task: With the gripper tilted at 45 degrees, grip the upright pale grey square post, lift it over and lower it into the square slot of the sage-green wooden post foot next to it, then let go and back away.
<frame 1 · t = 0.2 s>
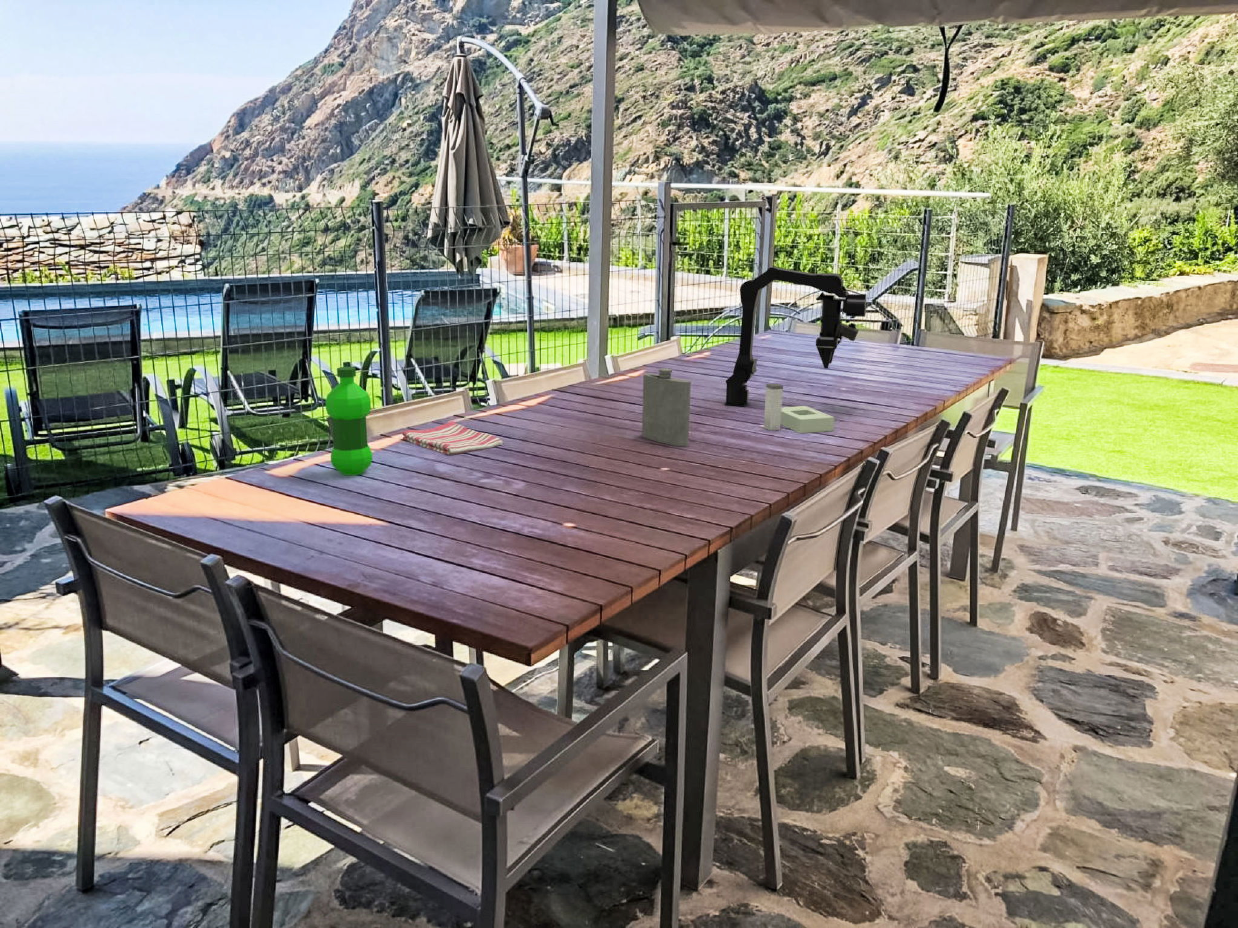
hand: (827, 365, 297), 15 cm above the table, tool pointing down, fingers open, 9 cm apart
hip flask: (663, 441, 261), on the table
dish towel: (451, 444, 256), on the table
plastic bottle: (352, 473, 227), on the table
pale grey square post: (771, 428, 277), on the table
post foot: (802, 425, 281), on the table
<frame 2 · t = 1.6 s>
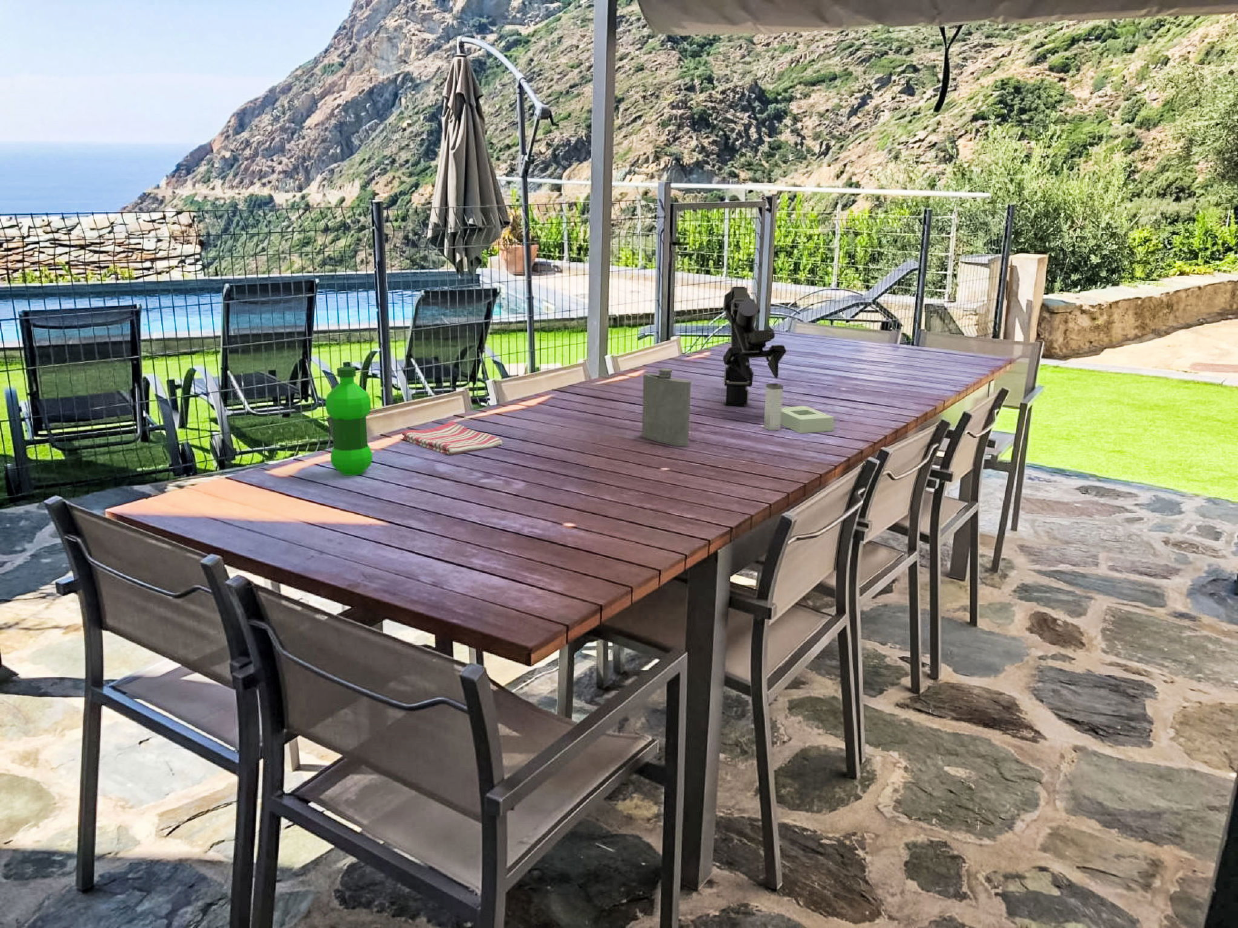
hand: (763, 378, 281), 13 cm above the table, tool tilted 45°, fingers open, 9 cm apart
nothing on the table moved.
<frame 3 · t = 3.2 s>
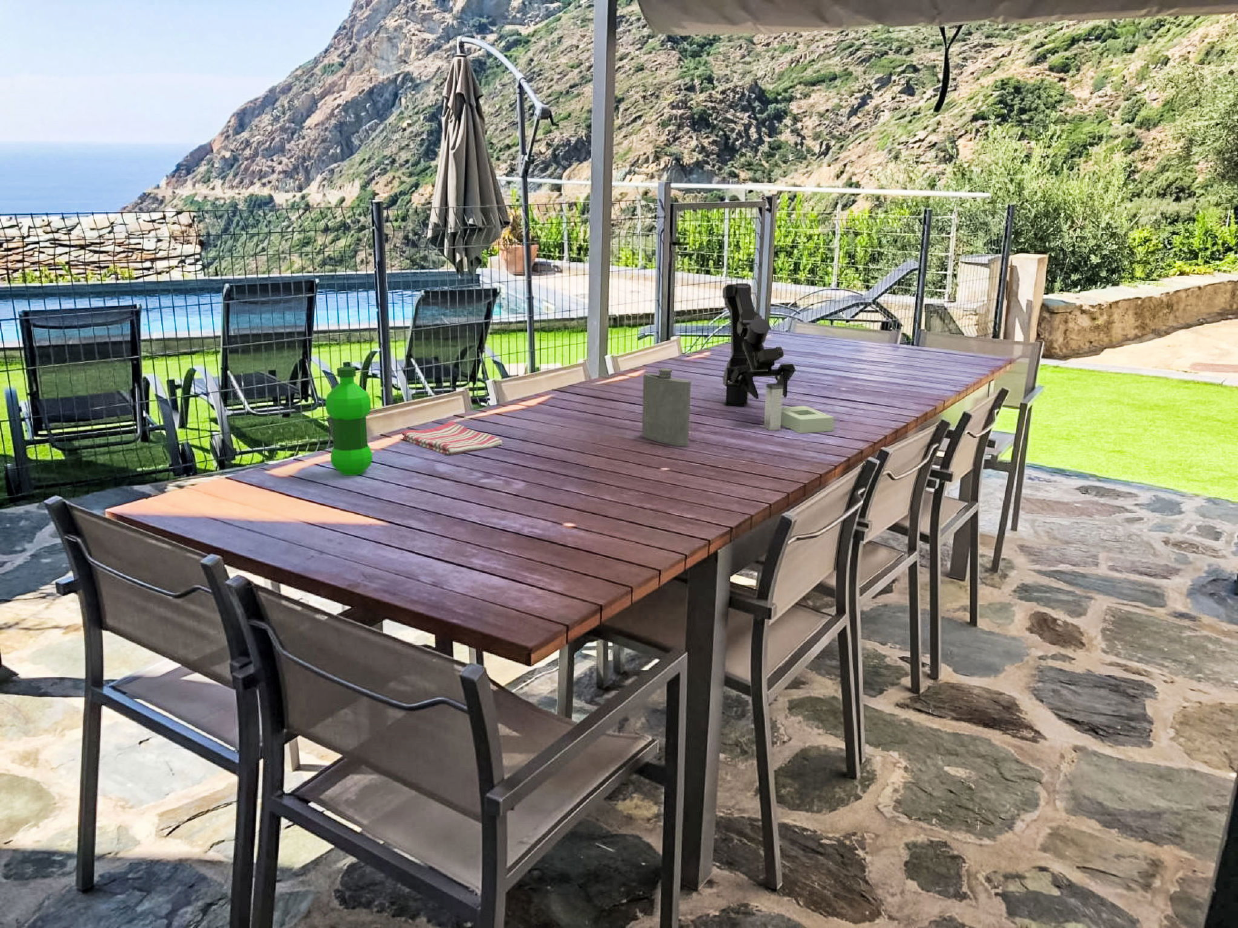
hand: (771, 397, 276), 9 cm above the table, tool tilted 45°, fingers open, 9 cm apart
nothing on the table moved.
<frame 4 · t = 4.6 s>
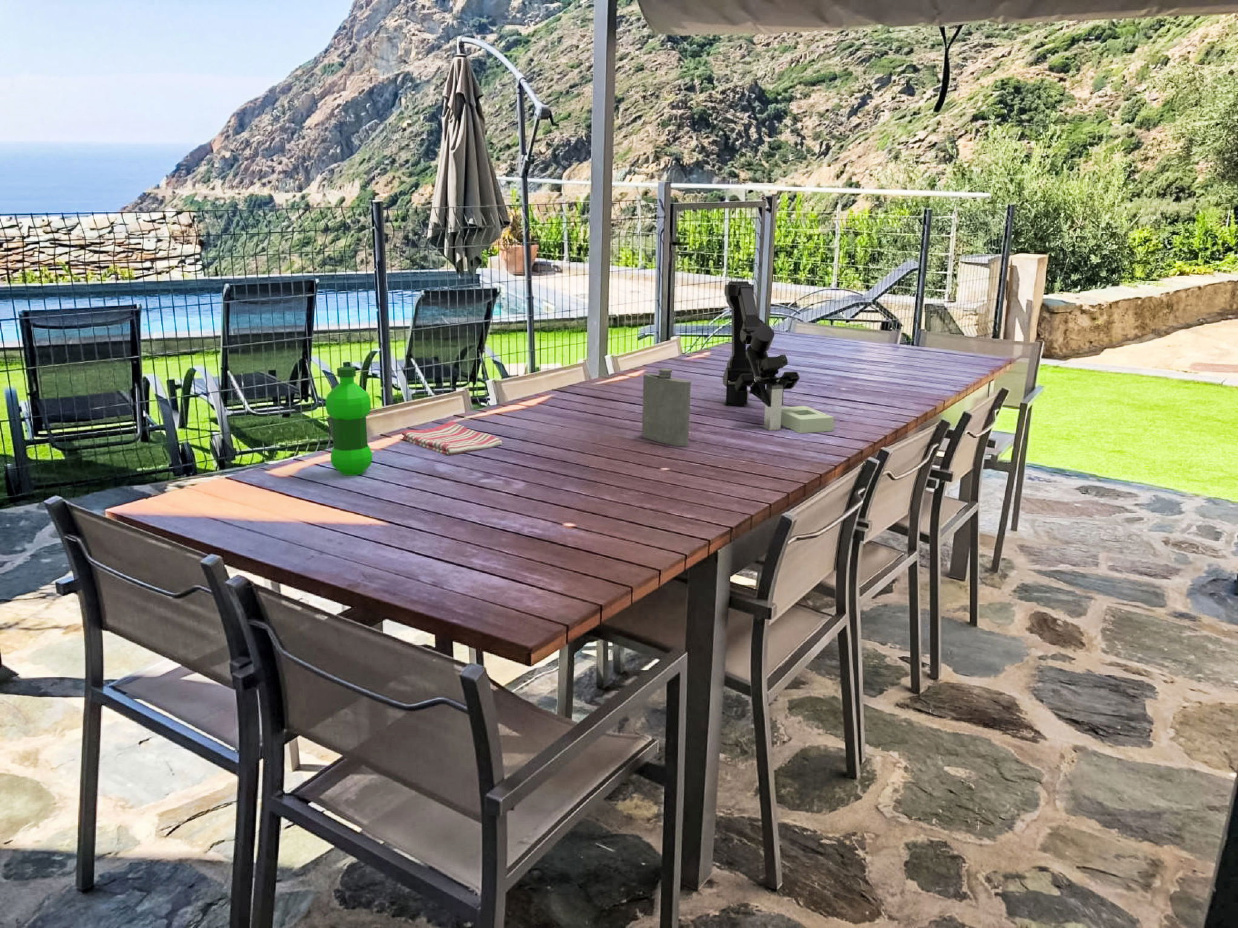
hand: (775, 405, 274), 7 cm above the table, tool tilted 45°, fingers closed on pale grey square post, 3 cm apart
pale grey square post: (771, 428, 277), on the table, touching gripper
everything else where it was.
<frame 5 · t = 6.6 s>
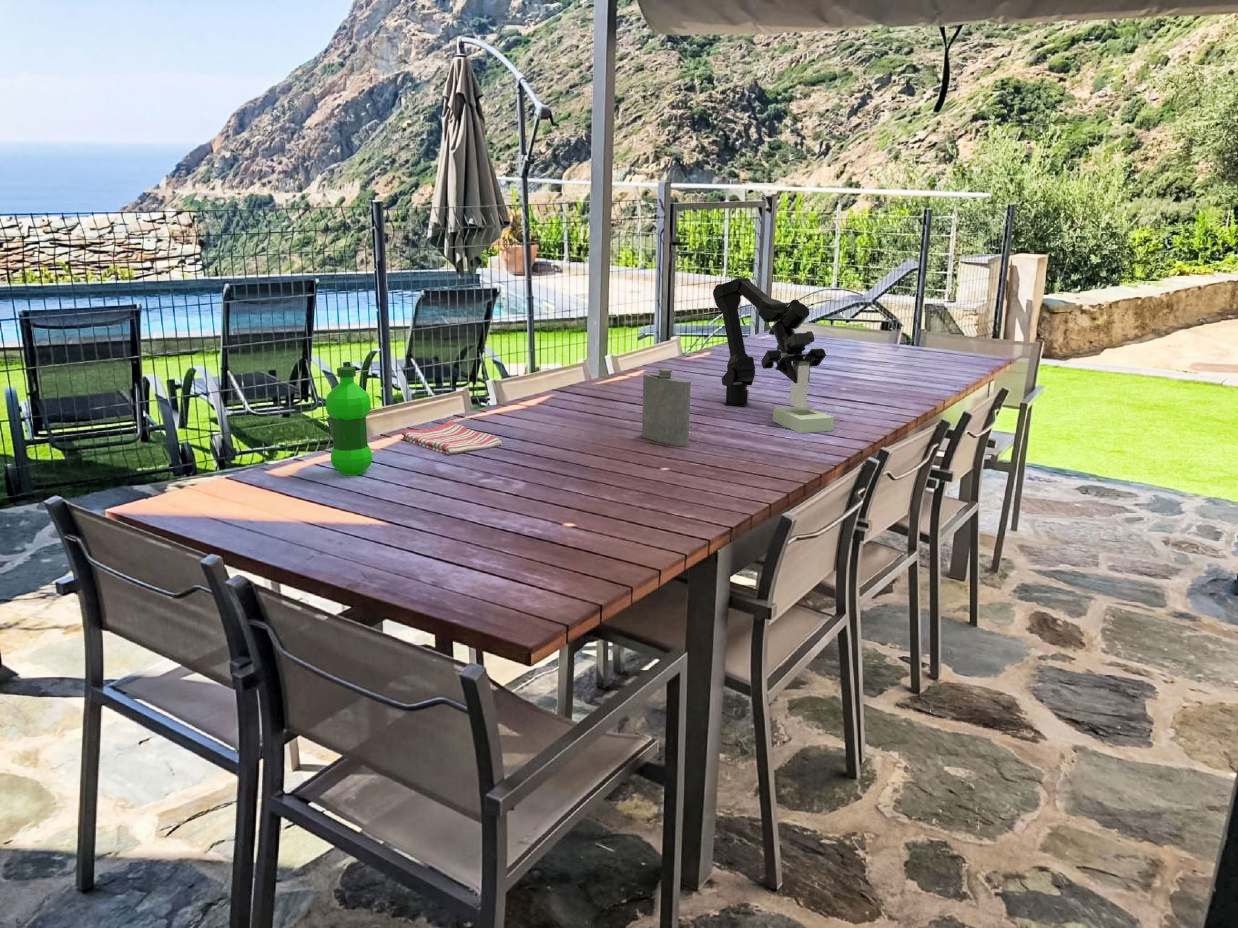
hand: (802, 382, 276), 13 cm above the table, tool tilted 45°, fingers closed on pale grey square post, 3 cm apart
pale grey square post: (798, 405, 279), point 6 cm above the table, touching gripper
everything else where it was.
when the fingers open (8 cm above the table, at t = 8.6 s): pale grey square post drops 1 cm, resting in post foot.
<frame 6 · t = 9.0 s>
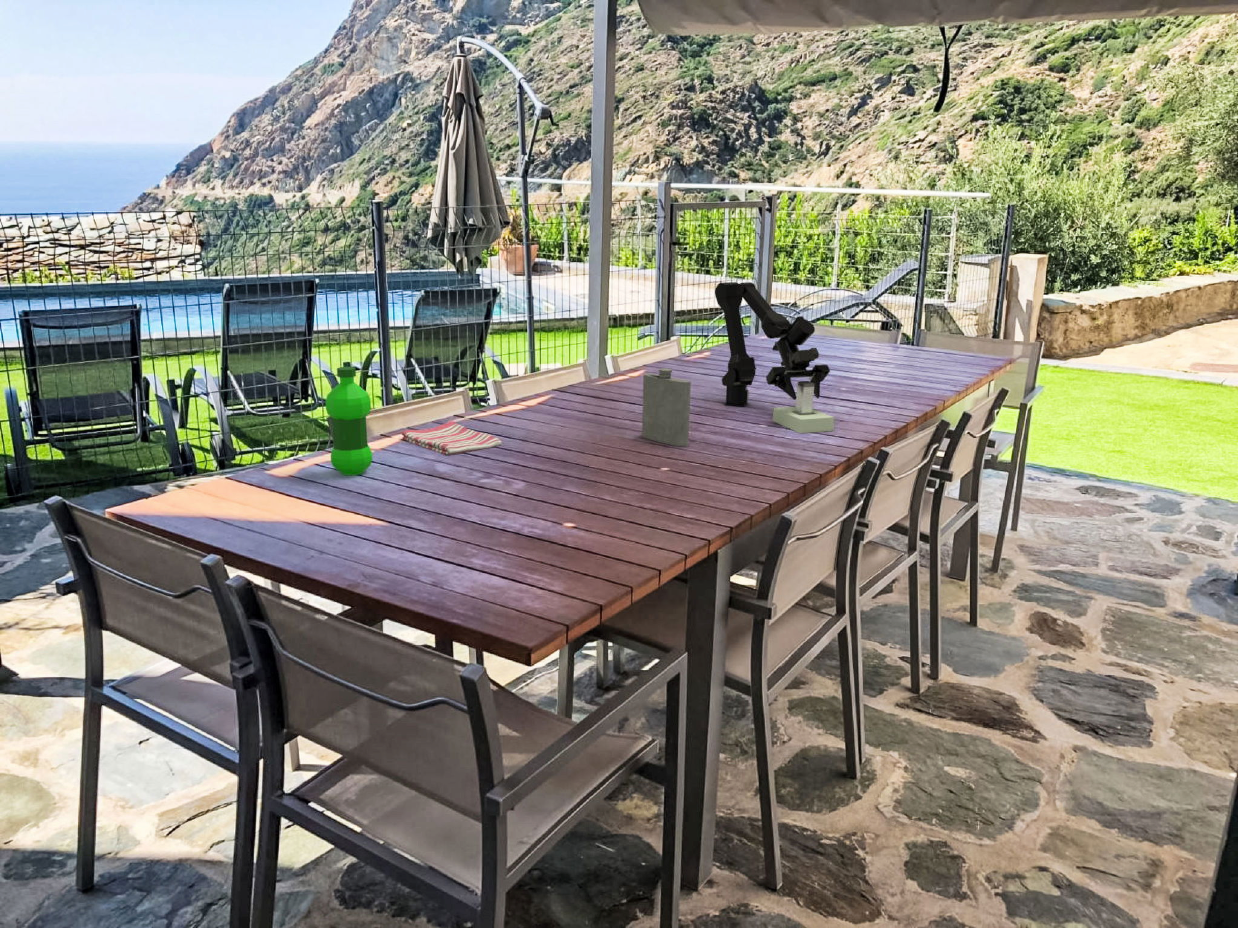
hand: (807, 398, 278), 9 cm above the table, tool tilted 45°, fingers open, 7 cm apart
pale grey square post: (802, 425, 281), resting in post foot
everything else where it was.
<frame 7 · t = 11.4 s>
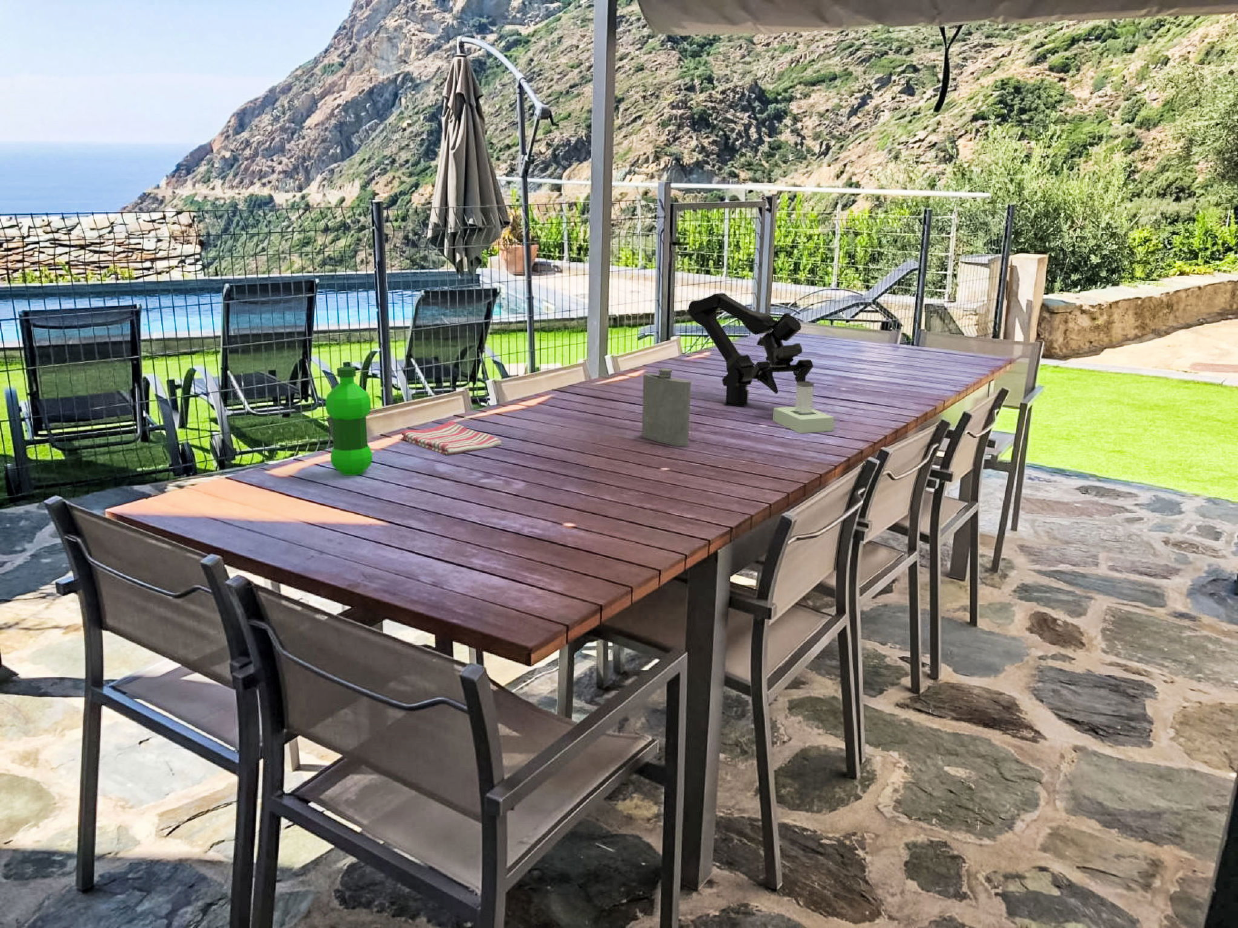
hand: (790, 392, 286), 9 cm above the table, tool tilted 45°, fingers open, 9 cm apart
nothing on the table moved.
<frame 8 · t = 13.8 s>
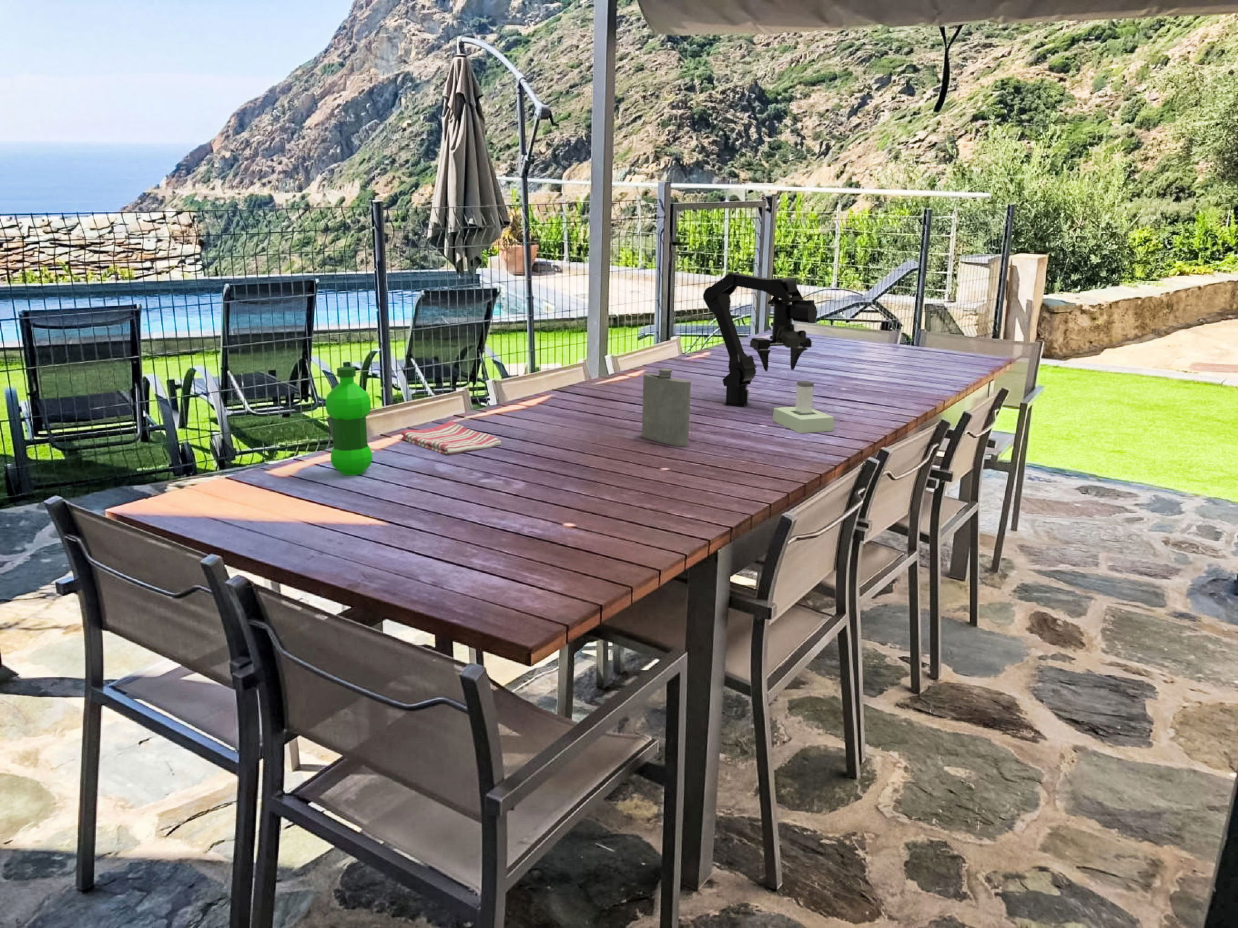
hand: (779, 370, 296), 13 cm above the table, tool pointing down, fingers open, 9 cm apart
nothing on the table moved.
at the end: pale grey square post 0.0 cm off-centre on the post foot, point 0.0 cm above the post foot's base; pale grey square post tilted 0°; the gripper is holding nothing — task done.
